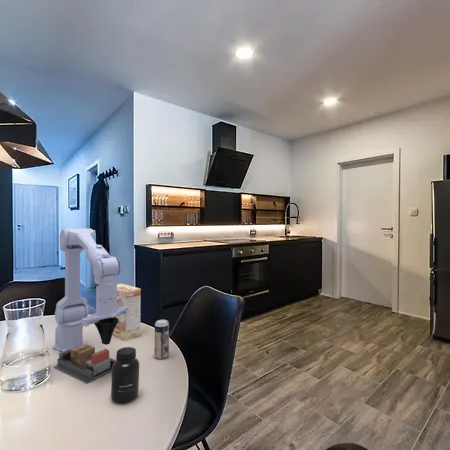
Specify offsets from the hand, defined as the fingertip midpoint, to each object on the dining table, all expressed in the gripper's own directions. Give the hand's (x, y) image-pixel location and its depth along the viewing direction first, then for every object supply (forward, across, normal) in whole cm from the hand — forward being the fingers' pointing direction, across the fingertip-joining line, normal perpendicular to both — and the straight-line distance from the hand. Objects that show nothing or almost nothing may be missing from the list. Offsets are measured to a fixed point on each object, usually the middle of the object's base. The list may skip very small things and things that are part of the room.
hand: (106, 343), depth 84 cm
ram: (+9, 0, +3) cm, 9 cm away
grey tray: (+9, 0, +9) cm, 13 cm away
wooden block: (+9, 0, +11) cm, 14 cm away
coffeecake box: (+10, +25, +22) cm, 35 cm away
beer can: (+10, +18, -6) cm, 21 cm away
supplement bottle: (+10, -4, -14) cm, 17 cm away
